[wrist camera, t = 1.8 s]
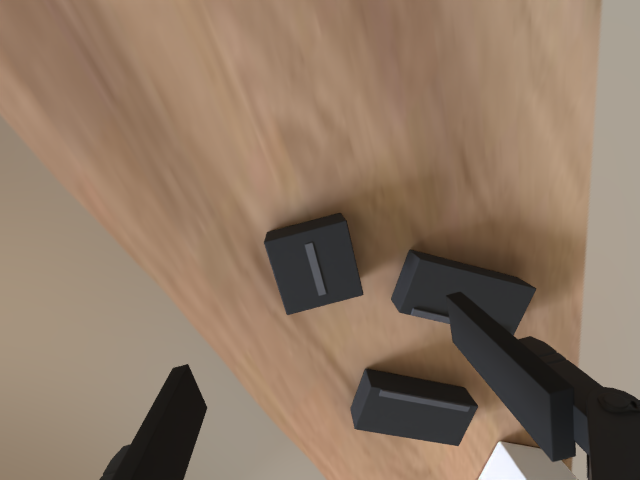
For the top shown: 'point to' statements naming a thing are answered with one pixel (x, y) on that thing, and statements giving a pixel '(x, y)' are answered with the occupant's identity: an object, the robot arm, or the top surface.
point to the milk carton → (523, 464)
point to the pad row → (430, 302)
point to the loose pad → (313, 263)
